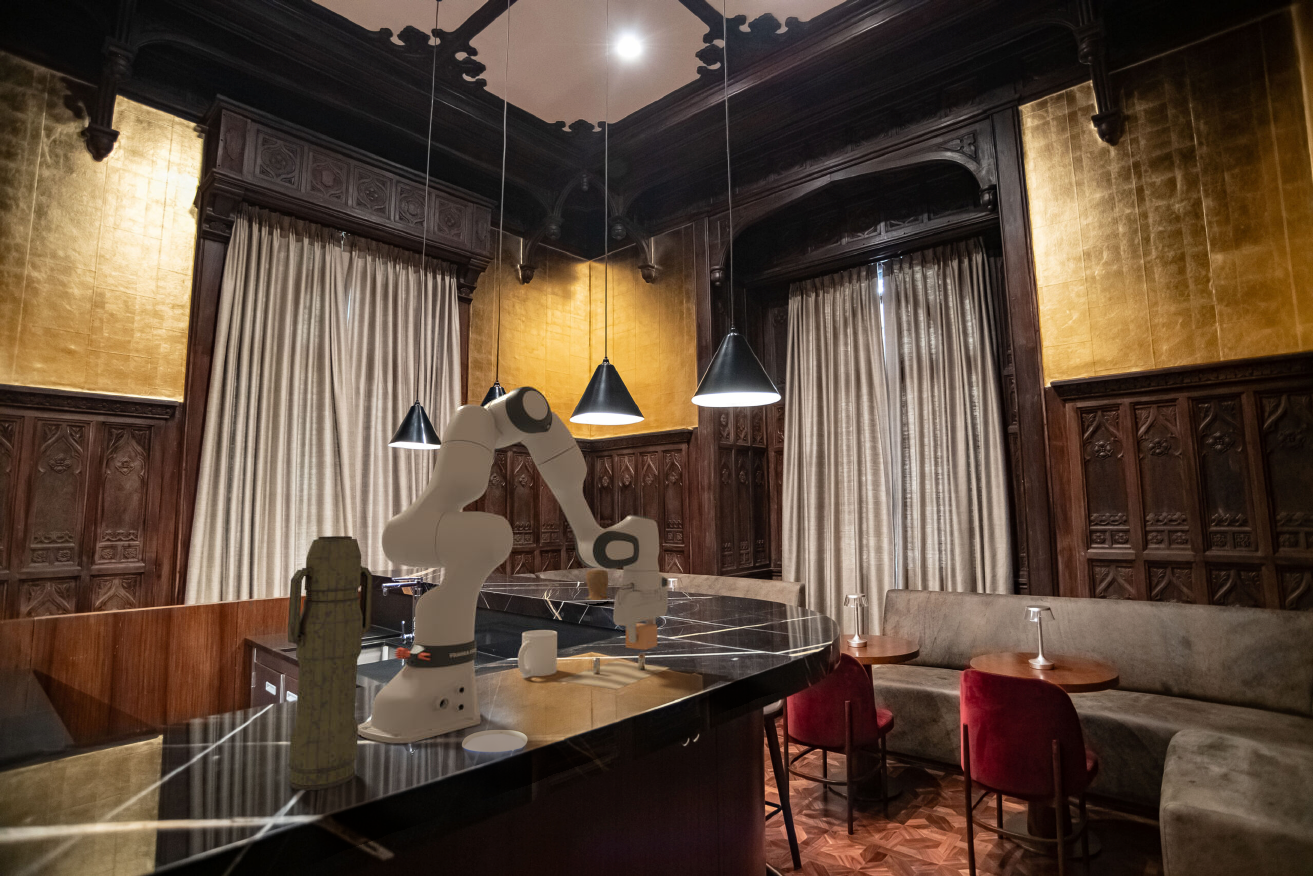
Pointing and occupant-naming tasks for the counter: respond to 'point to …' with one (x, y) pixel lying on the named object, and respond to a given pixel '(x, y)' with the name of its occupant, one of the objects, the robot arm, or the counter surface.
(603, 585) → the stone cup
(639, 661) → the pins
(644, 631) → the tan wooden cube
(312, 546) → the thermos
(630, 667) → the board
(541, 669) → the mug
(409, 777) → the counter surface
